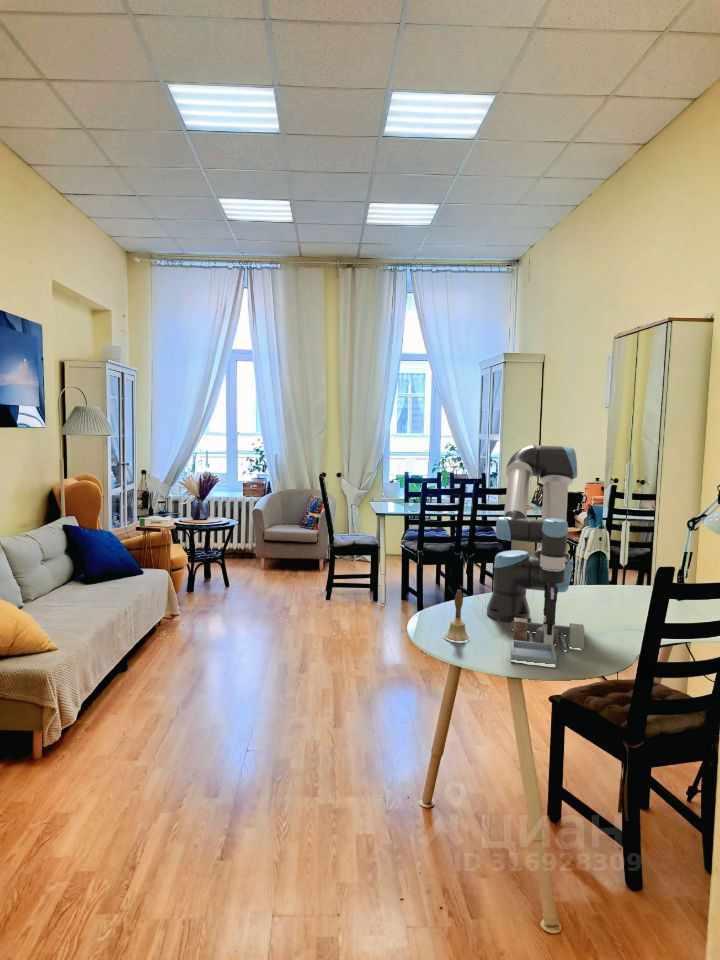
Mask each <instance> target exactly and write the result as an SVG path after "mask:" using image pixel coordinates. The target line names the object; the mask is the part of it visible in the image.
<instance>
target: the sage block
mask: <svg viewBox="0 0 720 960" xmlns="http://www.w3.org/2000/svg"><path fill="white" fill-rule="evenodd" d="M584 639H585V625H584V624H581V623H573V622H569V637H568V641H567V645H568V644H569V646H568V648H569V647H572V648H580V649H583V650H584Z"/></svg>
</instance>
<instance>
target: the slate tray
mask: <svg viewBox="0 0 720 960" xmlns="http://www.w3.org/2000/svg"><path fill="white" fill-rule="evenodd" d="M511 660H517V661H526V662H534V663H545V664H555V665H556V666H557V662H558V660H557V655H556V649H555V647H554V644H544V643H536V641H535V642H534V641H533V642H529V641H527V640H526V641H517V640H513V639H511V640H510V661H511Z"/></svg>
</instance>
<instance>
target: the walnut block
mask: <svg viewBox="0 0 720 960" xmlns="http://www.w3.org/2000/svg"><path fill="white" fill-rule="evenodd" d="M527 622H528V620H527V619H524V618H514V629H513V631H512V632H513V633H512V640H517V641H526V642H527V636H528V635H527V634H528V632H527Z"/></svg>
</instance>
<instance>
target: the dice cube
mask: <svg viewBox="0 0 720 960" xmlns="http://www.w3.org/2000/svg"><path fill="white" fill-rule="evenodd" d="M544 630H545V626H542V627H540V628H538V629H536V633H535V643H544ZM558 638H559V636H558V629H555V628H554V635H553V644H554V645H555V644H557V645H558V641H559V639H558Z"/></svg>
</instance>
